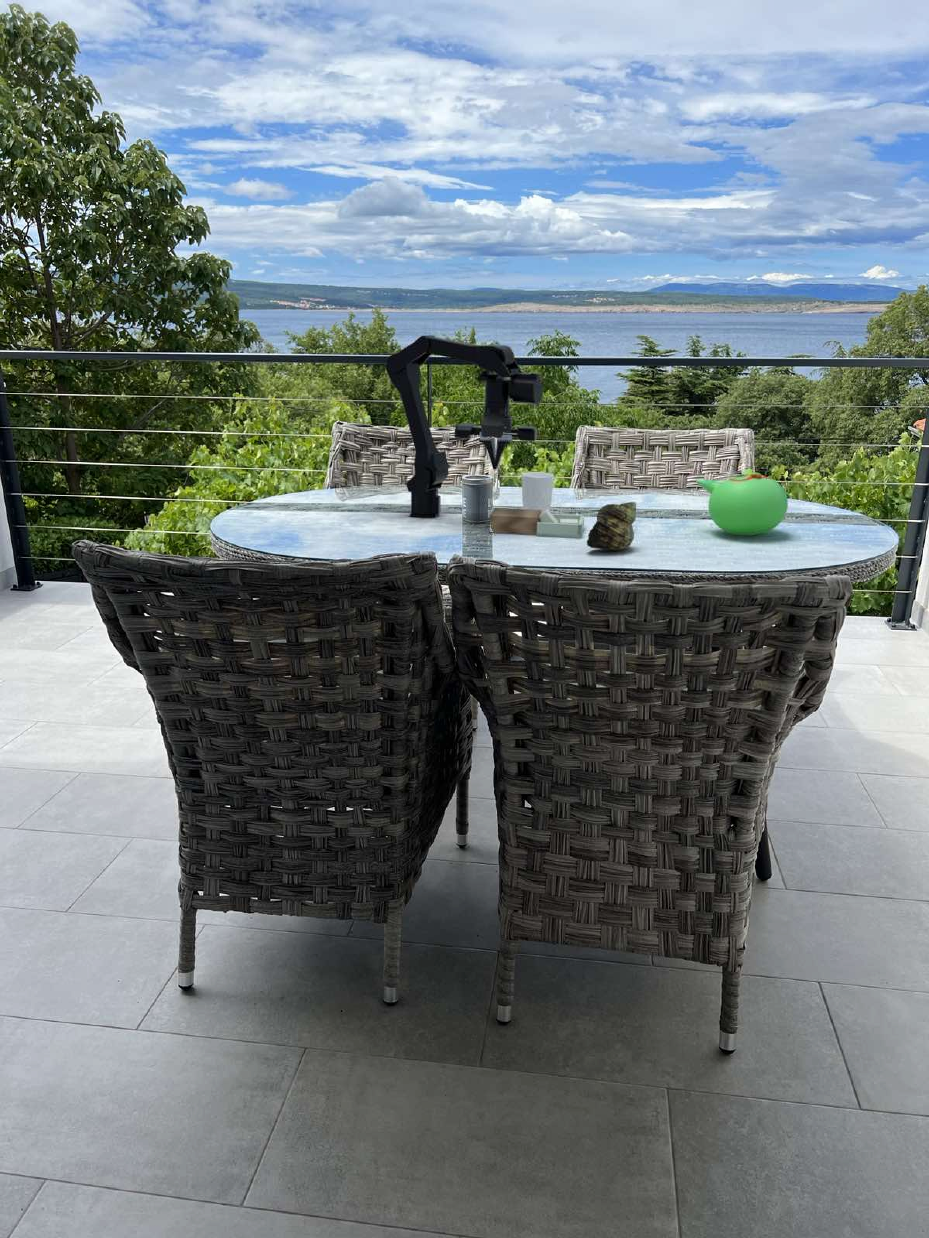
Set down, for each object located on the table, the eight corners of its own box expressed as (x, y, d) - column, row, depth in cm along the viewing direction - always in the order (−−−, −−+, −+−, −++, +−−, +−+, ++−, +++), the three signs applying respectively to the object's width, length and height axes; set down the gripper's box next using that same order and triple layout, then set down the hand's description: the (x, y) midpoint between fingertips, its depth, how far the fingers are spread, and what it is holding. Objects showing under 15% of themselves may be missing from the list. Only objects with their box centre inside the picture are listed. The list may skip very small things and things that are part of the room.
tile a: (538, 517, 226) (545, 511, 225) (540, 513, 230) (546, 508, 229) (550, 530, 227) (556, 525, 226) (551, 526, 230) (558, 521, 230)
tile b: (577, 523, 225) (577, 531, 226) (577, 519, 229) (577, 527, 230) (560, 522, 226) (559, 530, 226) (560, 518, 229) (560, 527, 230)
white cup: (550, 518, 243) (551, 477, 240) (518, 516, 244) (519, 476, 241) (554, 512, 250) (555, 472, 247) (523, 510, 252) (524, 471, 249)
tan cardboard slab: (489, 532, 226) (489, 515, 225) (494, 524, 235) (494, 508, 234) (537, 535, 225) (537, 517, 223) (540, 526, 233) (541, 510, 232)
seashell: (577, 544, 217) (580, 498, 214) (629, 543, 218) (631, 498, 215) (587, 555, 207) (590, 508, 204) (641, 555, 208) (644, 507, 205)
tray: (536, 536, 224) (537, 522, 223) (541, 526, 234) (541, 513, 233) (581, 538, 222) (581, 525, 221) (583, 527, 232) (584, 515, 232)
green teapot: (738, 545, 217) (745, 478, 213) (688, 530, 231) (693, 467, 227) (799, 537, 225) (806, 473, 221) (747, 523, 239) (753, 463, 235)
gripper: (450, 403, 222) (449, 472, 227) (533, 406, 219) (530, 476, 224) (459, 399, 233) (458, 465, 238) (538, 402, 230) (535, 469, 234)
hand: (495, 469), depth 233 cm, fingers closed
